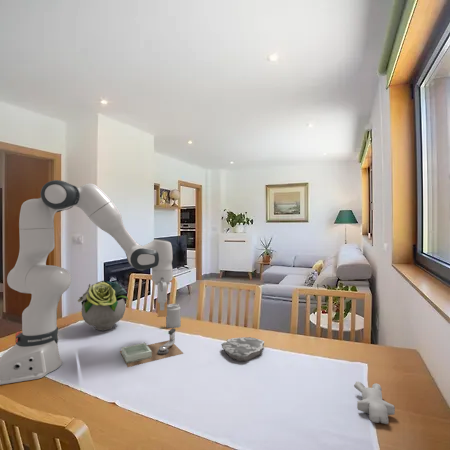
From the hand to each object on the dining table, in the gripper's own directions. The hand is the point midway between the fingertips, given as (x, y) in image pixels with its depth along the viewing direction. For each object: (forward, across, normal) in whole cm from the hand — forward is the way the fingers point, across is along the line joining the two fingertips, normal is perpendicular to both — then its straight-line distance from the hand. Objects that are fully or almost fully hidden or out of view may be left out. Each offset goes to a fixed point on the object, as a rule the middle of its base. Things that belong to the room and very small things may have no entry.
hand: (162, 308), depth 127 cm
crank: (+15, -4, -2) cm, 16 cm away
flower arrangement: (+18, +33, +30) cm, 48 cm away
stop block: (+3, 0, 0) cm, 3 cm away
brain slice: (+18, -10, -33) cm, 39 cm away
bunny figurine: (+18, -55, -60) cm, 84 cm away
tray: (+16, -8, +10) cm, 21 cm away
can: (+17, +25, -6) cm, 31 cm away
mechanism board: (+18, -6, +4) cm, 19 cm away
